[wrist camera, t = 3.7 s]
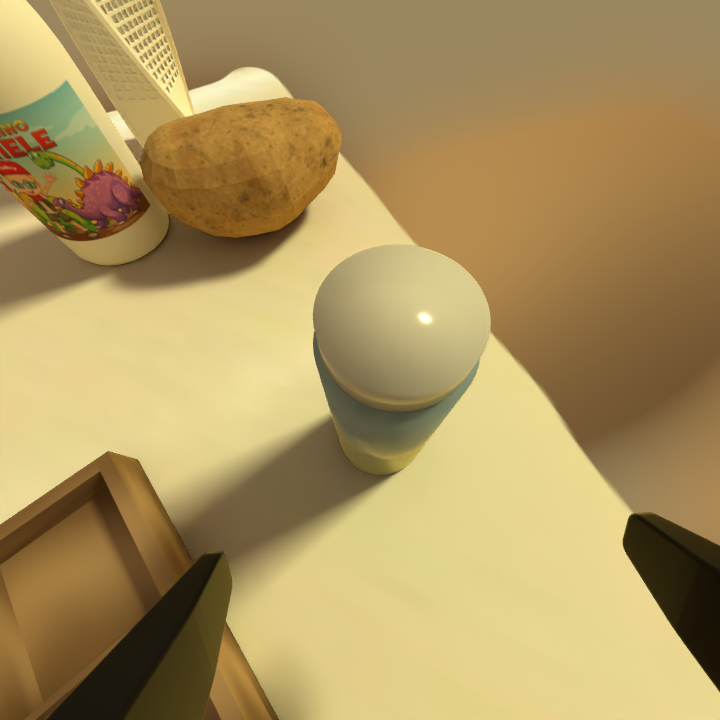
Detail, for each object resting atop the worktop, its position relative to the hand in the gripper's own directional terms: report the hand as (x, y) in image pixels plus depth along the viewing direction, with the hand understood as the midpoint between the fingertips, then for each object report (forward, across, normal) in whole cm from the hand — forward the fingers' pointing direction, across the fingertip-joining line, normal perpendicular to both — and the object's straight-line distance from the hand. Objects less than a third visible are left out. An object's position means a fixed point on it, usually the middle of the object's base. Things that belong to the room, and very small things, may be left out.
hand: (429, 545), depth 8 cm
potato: (+26, +8, -9) cm, 28 cm away
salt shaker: (+12, 0, +5) cm, 13 cm away
